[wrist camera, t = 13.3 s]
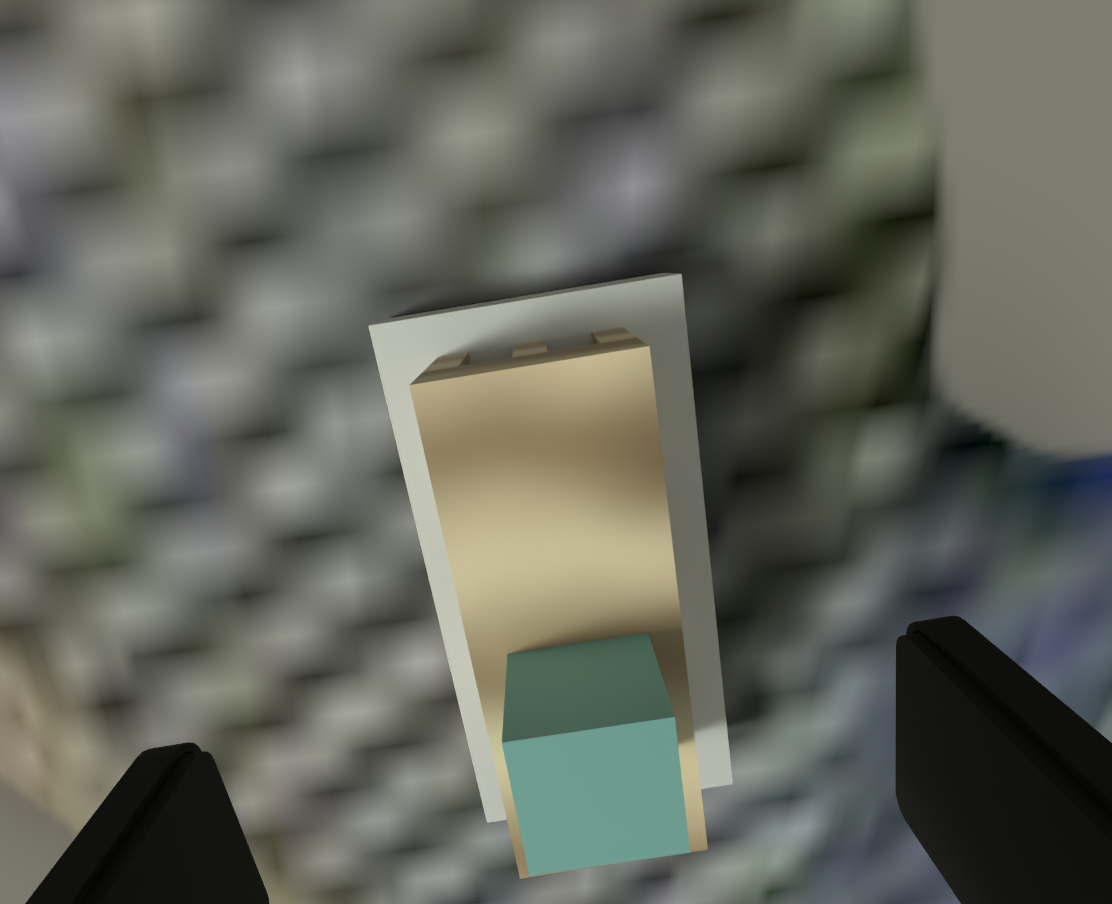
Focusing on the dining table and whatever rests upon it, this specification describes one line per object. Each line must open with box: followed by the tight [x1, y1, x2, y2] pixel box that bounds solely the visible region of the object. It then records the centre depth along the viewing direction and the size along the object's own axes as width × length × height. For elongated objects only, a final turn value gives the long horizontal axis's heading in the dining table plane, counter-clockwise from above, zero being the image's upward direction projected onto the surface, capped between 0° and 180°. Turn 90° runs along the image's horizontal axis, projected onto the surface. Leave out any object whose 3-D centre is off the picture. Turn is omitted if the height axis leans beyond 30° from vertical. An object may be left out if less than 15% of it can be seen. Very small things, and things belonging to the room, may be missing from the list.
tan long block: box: [409, 327, 708, 879], centre depth 20 cm, size 16×6×5 cm, turn 9°
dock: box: [369, 273, 733, 823], centre depth 24 cm, size 20×10×3 cm, turn 9°
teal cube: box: [502, 633, 690, 876], centre depth 17 cm, size 4×4×4 cm
